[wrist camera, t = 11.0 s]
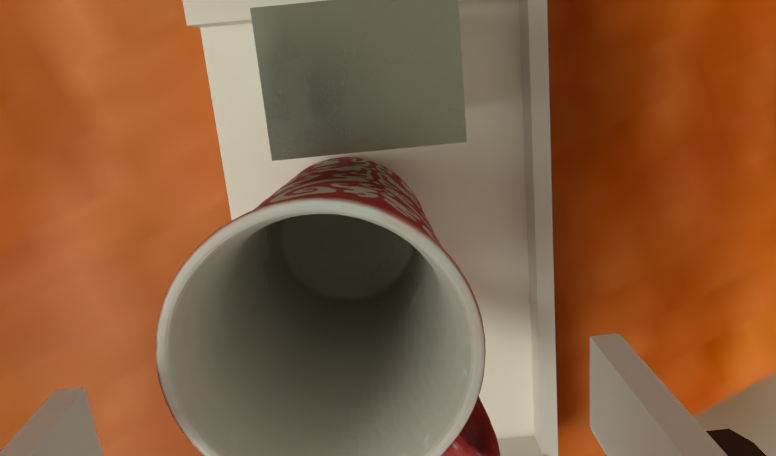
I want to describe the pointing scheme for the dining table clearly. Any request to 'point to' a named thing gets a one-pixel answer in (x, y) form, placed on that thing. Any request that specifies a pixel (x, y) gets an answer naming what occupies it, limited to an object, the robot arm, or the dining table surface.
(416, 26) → the tea tin
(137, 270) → the dining table surface
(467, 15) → the shelf
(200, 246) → the mug
